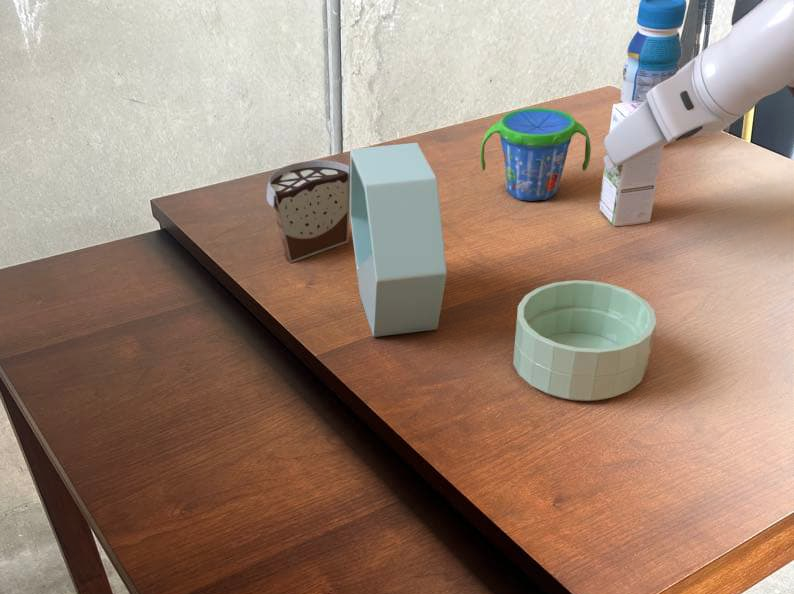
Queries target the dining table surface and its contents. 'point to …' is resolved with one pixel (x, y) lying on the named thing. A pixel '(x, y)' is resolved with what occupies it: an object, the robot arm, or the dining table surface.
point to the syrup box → (629, 180)
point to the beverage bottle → (653, 47)
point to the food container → (310, 206)
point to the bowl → (583, 339)
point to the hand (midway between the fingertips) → (629, 154)
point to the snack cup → (535, 150)
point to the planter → (397, 238)
